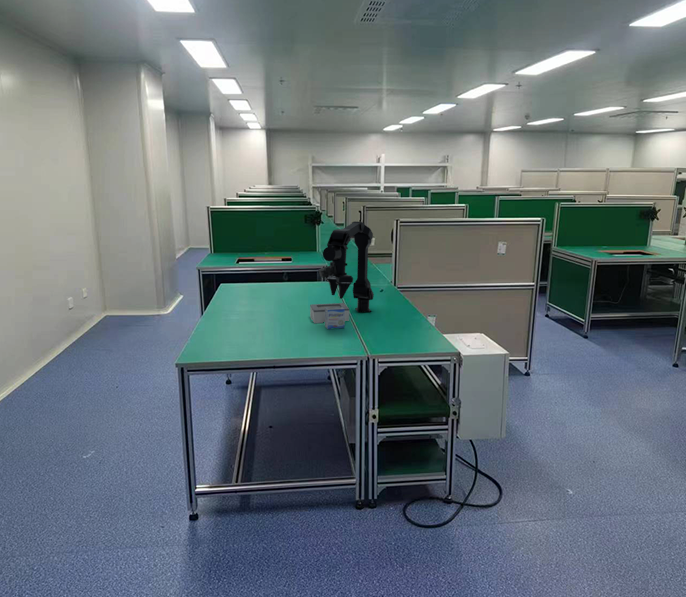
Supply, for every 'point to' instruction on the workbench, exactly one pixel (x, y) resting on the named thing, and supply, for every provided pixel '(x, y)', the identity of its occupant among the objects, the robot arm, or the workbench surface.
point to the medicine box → (334, 317)
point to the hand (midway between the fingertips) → (336, 296)
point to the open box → (319, 311)
